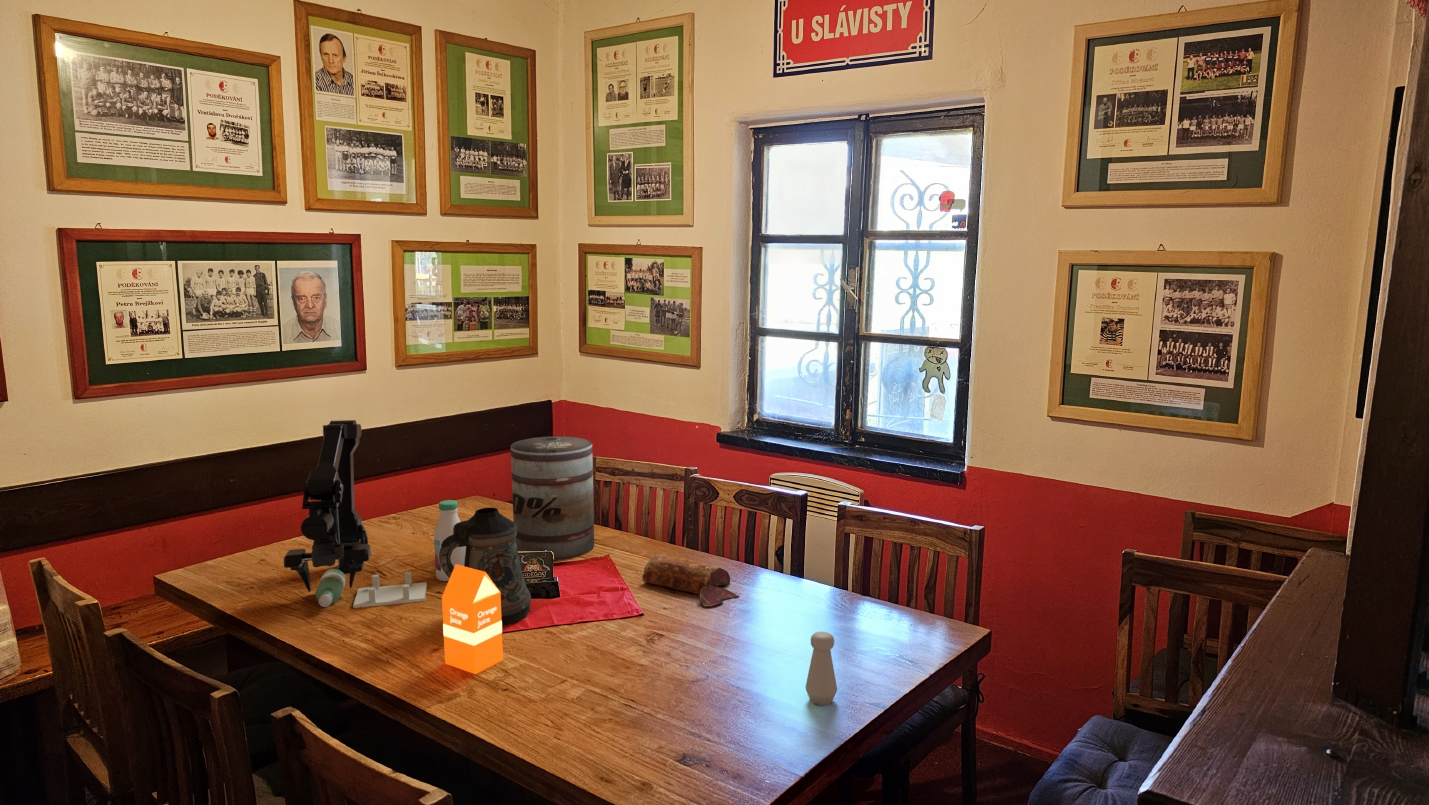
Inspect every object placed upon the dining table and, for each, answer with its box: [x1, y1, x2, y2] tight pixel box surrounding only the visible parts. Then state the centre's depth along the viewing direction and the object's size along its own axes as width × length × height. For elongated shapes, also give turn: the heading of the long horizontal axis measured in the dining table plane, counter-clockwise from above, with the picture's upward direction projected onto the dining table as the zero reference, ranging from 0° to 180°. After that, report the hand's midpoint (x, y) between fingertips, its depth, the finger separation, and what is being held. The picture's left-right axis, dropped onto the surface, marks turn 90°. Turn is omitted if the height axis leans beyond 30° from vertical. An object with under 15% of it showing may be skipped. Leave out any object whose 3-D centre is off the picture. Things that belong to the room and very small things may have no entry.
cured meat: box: [641, 554, 740, 608], centre depth 220 cm, size 18×25×7 cm
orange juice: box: [441, 564, 504, 675], centre depth 178 cm, size 8×9×20 cm
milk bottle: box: [433, 499, 466, 582], centre depth 227 cm, size 8×8×20 cm
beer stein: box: [439, 507, 532, 627], centre depth 201 cm, size 16×19×25 cm
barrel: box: [510, 436, 595, 561], centre depth 249 cm, size 22×22×30 cm
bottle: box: [315, 568, 347, 608], centre depth 211 cm, size 14×6×6 cm, turn 16°
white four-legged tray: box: [352, 571, 427, 609], centre depth 215 cm, size 16×11×4 cm
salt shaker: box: [805, 631, 838, 707], centre depth 163 cm, size 6×6×13 cm
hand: (330, 589), depth 214 cm, fingers open, 9 cm apart
